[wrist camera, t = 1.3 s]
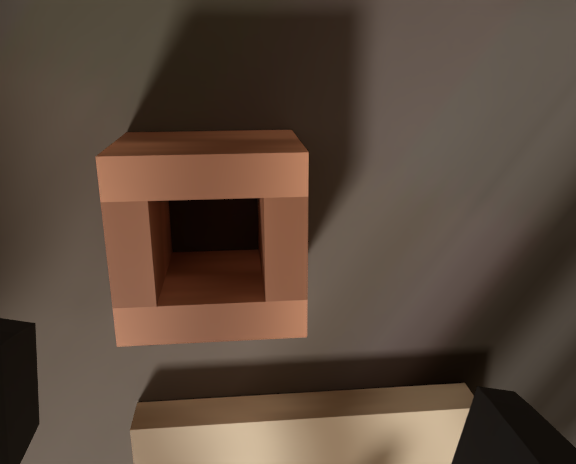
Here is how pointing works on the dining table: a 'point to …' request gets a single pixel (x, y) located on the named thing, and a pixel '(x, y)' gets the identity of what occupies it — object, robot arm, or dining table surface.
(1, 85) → the dining table surface
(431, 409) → the lacing board
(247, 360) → the dining table surface
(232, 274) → the bead
